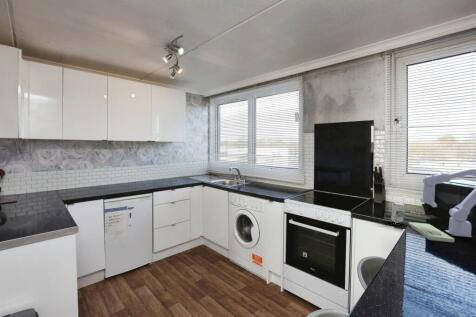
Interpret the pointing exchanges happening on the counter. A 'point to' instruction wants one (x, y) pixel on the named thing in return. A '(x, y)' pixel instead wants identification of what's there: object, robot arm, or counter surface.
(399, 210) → the syrup box
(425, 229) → the mat
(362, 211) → the counter surface
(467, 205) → the robot arm
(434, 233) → the golf ball
